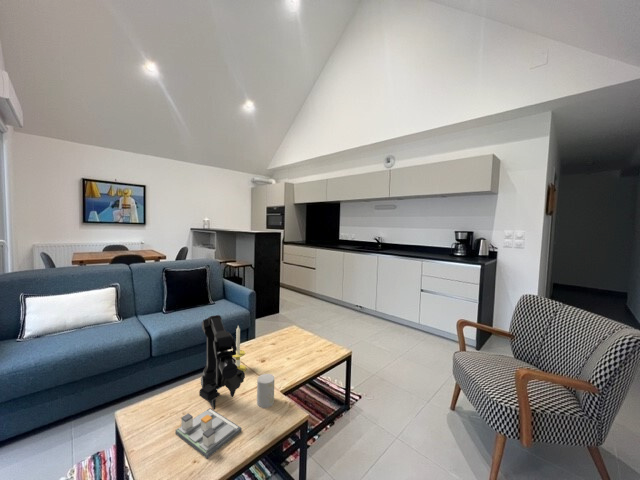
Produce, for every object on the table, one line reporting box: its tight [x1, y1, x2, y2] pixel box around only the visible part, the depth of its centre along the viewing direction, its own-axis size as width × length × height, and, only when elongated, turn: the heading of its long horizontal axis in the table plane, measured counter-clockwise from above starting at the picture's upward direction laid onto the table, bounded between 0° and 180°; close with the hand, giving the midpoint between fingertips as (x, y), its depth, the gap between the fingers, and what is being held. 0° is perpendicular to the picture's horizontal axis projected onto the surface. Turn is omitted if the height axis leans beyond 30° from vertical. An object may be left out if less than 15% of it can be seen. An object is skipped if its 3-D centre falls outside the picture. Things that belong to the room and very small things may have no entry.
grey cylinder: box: [256, 373, 275, 409], centre depth 129 cm, size 8×8×12 cm
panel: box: [175, 407, 242, 459], centre depth 110 cm, size 21×16×2 cm
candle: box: [232, 325, 247, 373], centre depth 157 cm, size 10×10×27 cm
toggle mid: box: [201, 415, 212, 431], centre depth 109 cm, size 3×3×4 cm
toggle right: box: [203, 428, 215, 447], centre depth 102 cm, size 3×3×4 cm
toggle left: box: [180, 413, 194, 430], centre depth 110 cm, size 3×3×4 cm
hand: (223, 402), depth 110 cm, fingers open, 9 cm apart
